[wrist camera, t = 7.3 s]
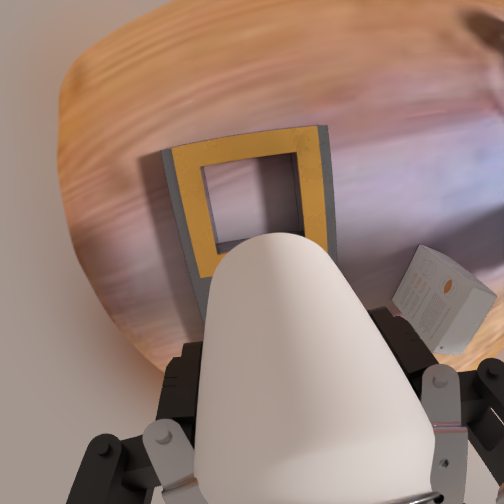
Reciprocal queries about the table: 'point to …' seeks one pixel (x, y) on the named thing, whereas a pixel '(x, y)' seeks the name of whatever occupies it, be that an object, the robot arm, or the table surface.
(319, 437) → the can
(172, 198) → the grey slotted tray
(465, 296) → the small box
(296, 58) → the table surface
